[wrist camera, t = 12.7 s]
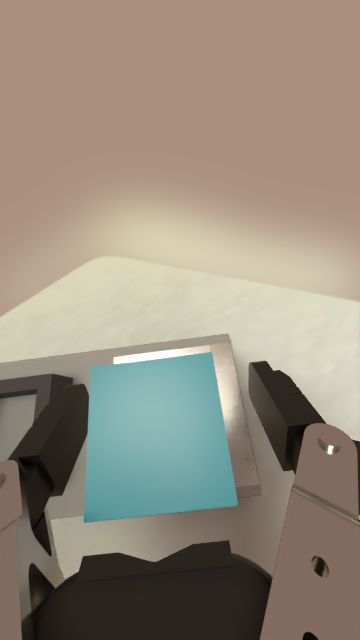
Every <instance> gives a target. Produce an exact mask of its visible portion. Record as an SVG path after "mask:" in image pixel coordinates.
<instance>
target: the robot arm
mask: <svg viewBox="0 0 360 640" xmlns="http://www.w3.org/2000/svg"><path fill="white" fill-rule="evenodd" d="M249 394H250V398H251V401H252V403H253V406H254V408H255V410H256V412H257V414H258V417H259V419H260V421H261V423H262V425H263V428H264V430H265V432H266V434H267V436H268V439H269V441H270V443H271V445H272V447H273V450H274V452H275V454H276V456H277V458H278V460H279V463H280V465H281V467H282V469H283V471H290V470H293V471H294V473H295V480H294V484H293V486H292V490H291V494H290V499H289V503H288V508H287V513H286V518H285V522H284V527H283V532H282V537H281V541H280V546H279V551H278V556H277V560H276V565H275V570H274V575H273V577H272V576H271V575H270V574H269V573H268V572H266V571H265V570H264V569H263V568H261V567H260V566H259V565H257V564H256V563H254V562H252V561H251V560H249V559H247V558H245V557H243V556H240V555H237V554H234V553H231V549H230V544H229V540H228V541H219V542H210V543H201V544H192V545H190V546H188V547H186V548H184V549H182V550H180V551H178V552H176V553H174V554H172V555H170V556H168V557H166V558H164V559H162V560H160V561H157V562H150V561H147V560H143V559H140V558H136V557H132V556H129V555H125V554H122V553H109V554H100V555H91V556H83V558H82V562H81V566H80V569H79V572H77V573H75V574H74V575H72V576H71V577H69V578H68V579H66V580H65V579H64V576H63V574H62V571H61V569H60V566H59V563H58V560H57V555H56V550H55V545H54V539H53V534H52V529H51V524H50V518H49V513H48V509H47V507H46V504H47V502H48V500H49V498H50V497H56V496H62V495H63V493H64V490H65V488H66V485H67V483H68V480H69V478H70V476H71V473H72V471H73V468H74V466H75V463H76V461H77V458H78V456H79V454H80V451H81V449H82V446H83V444H84V441H85V439H86V437H87V434H88V413H89V394H88V391H87V388H86V386H85V385H84V384H74V385H67V386H65V387H64V389H63V390H62V392H61V393H60V395H59V396H58V397H57V398H54V399H53V400H52V401H51V402H50V403H49V404H47V405H46V406H45V407H44V409H43V410H42V412H41V413H40V414H39V416H38V418H37V419H36V420H35V421H34V423H33V424H32V427H30V428H29V430H28V431H27V433H26V434H25V435H24V437H23V438H22V440H21V441H20V443H19V444H18V445H17V447H16V448H15V450H14V451H13V452H12V454H11V455H10V457H9V458H8V459H7V461H3V462H0V640H360V520H359V515H360V441H355V440H352V439H351V438H350V437H349V436H348V435H347V434H346V433H344V432H343V431H341V430H340V429H338V428H336V427H334V426H331V425H328V424H326V423H325V421H324V420H323V419H322V417H321V416H320V415H319V414H318V412H317V411H316V410H315V409H314V407H313V406H312V405H311V403H310V402H309V401H308V400H307V398H306V397H305V396H304V394H302V392H301V391H300V389H299V388H298V387H296V384H295V383H294V382H293V380H292V379H291V378H290V377H289V376H288V375H286V374H285V373H283V372H282V371H280V370H277V371H273V370H272V368H271V367H270V365H269V364H268V363H267V362H266V361H260V362H252V363H249Z"/></svg>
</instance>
